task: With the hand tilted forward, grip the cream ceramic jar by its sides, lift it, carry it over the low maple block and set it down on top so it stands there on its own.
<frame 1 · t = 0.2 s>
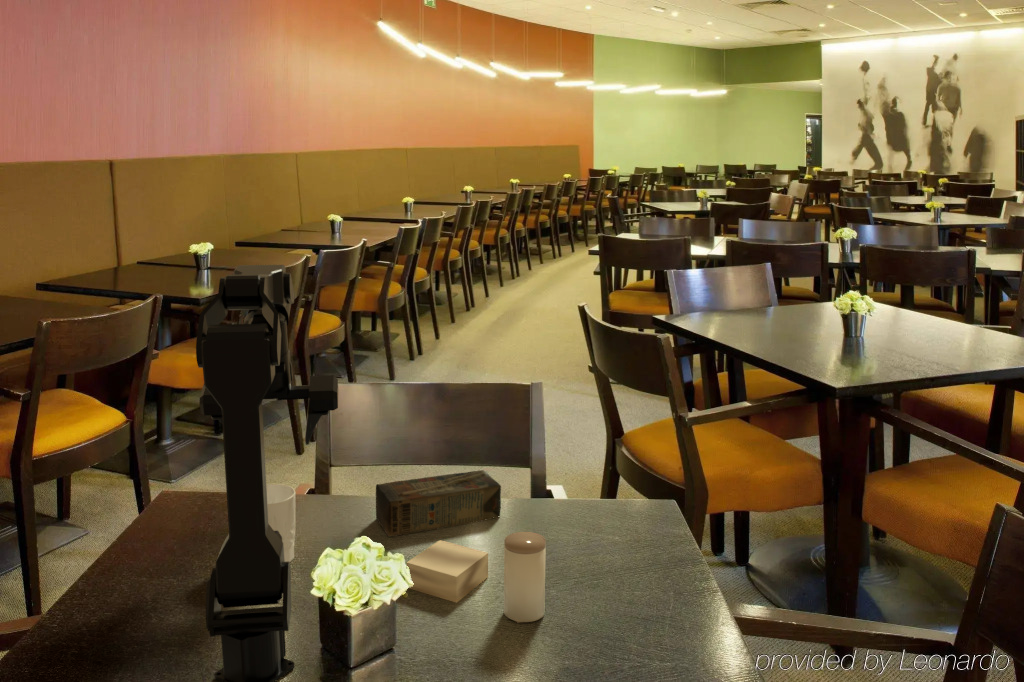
hand: (275, 444, 132), 15 cm above the table, tool pointing down, fingers open, 9 cm apart
jar: (524, 613, 115), on the table
maple block: (448, 584, 123), on the table
white cup: (270, 560, 130), on the table
beverage carton: (438, 521, 144), on the table
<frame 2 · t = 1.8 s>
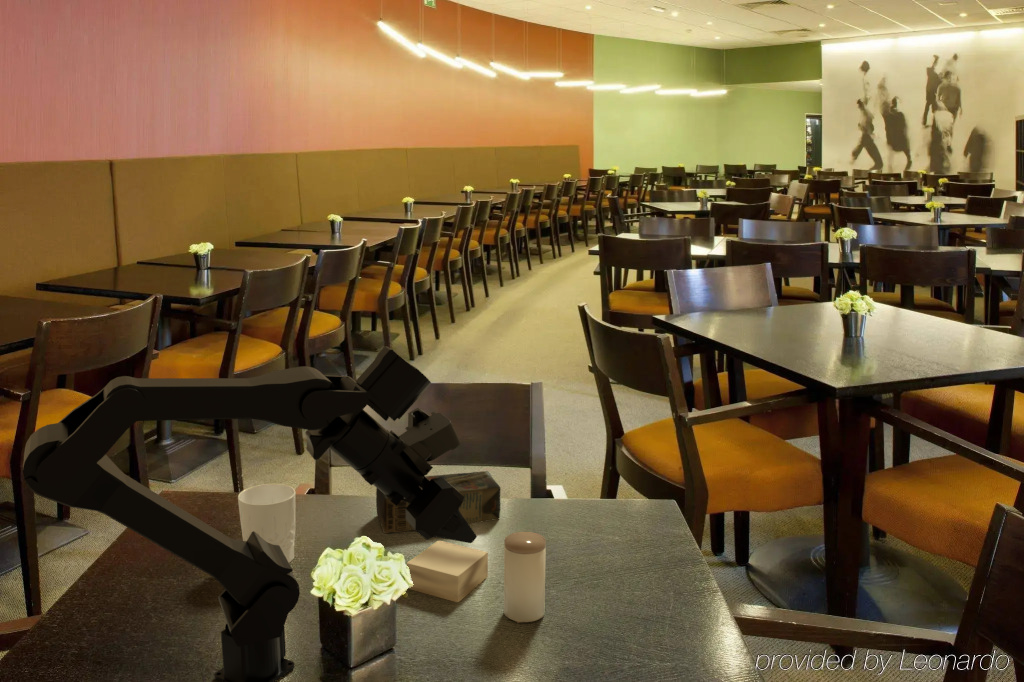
hand: (459, 524, 110), 13 cm above the table, tool tilted 45°, fingers open, 9 cm apart
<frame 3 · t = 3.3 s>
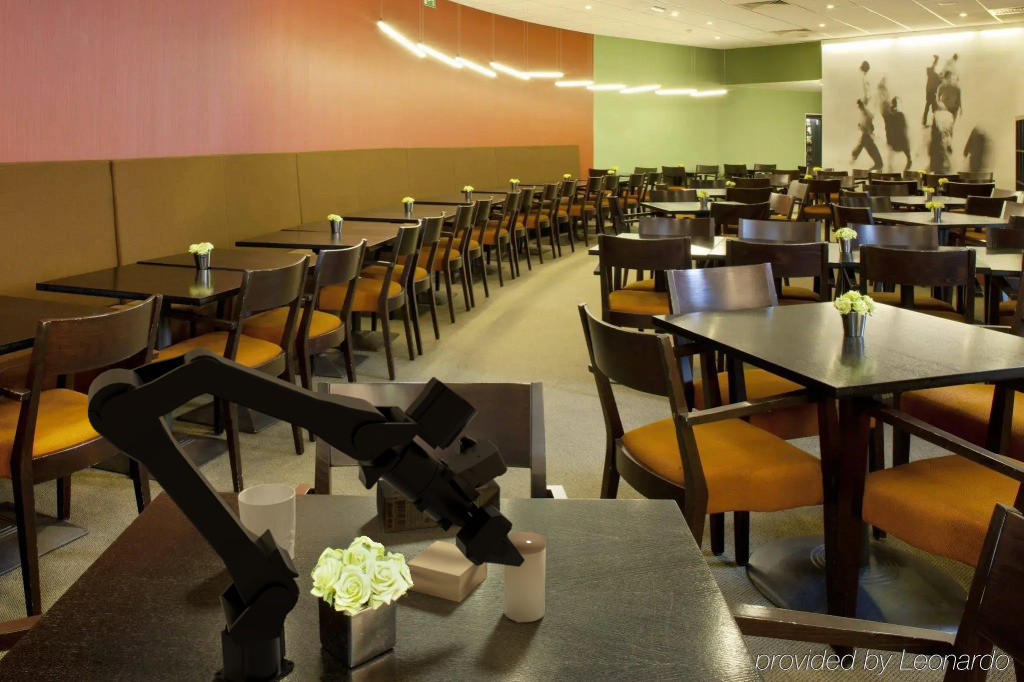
hand: (506, 547, 112), 10 cm above the table, tool tilted 45°, fingers open, 9 cm apart
nothing on the table moved.
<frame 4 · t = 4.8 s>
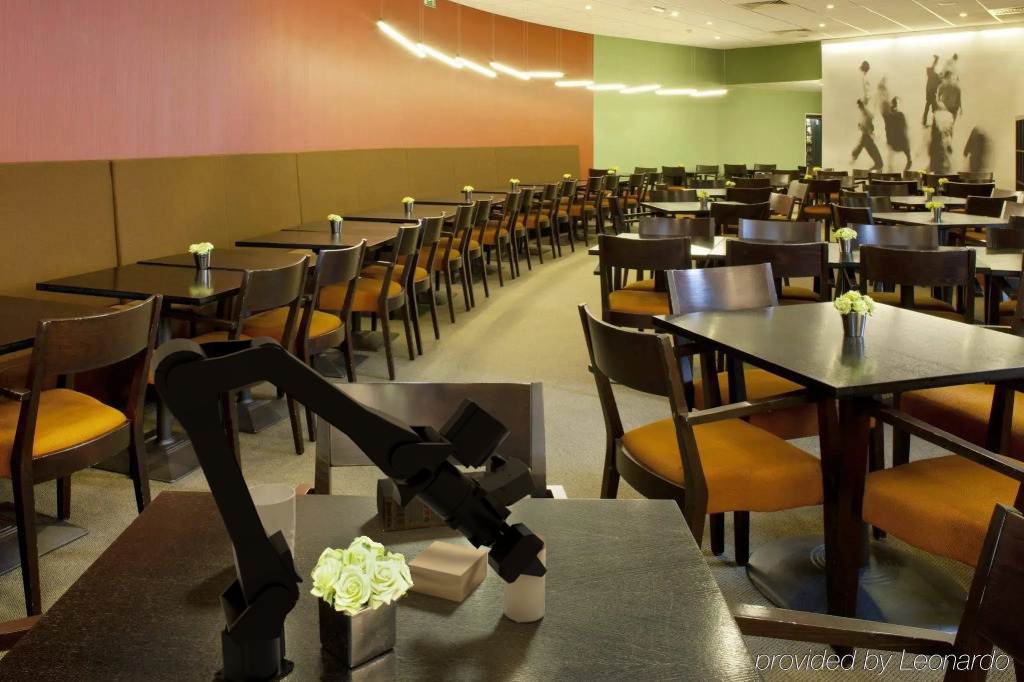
hand: (534, 564, 114), 7 cm above the table, tool tilted 45°, fingers closed on jar, 5 cm apart
jar: (524, 613, 115), on the table, touching gripper
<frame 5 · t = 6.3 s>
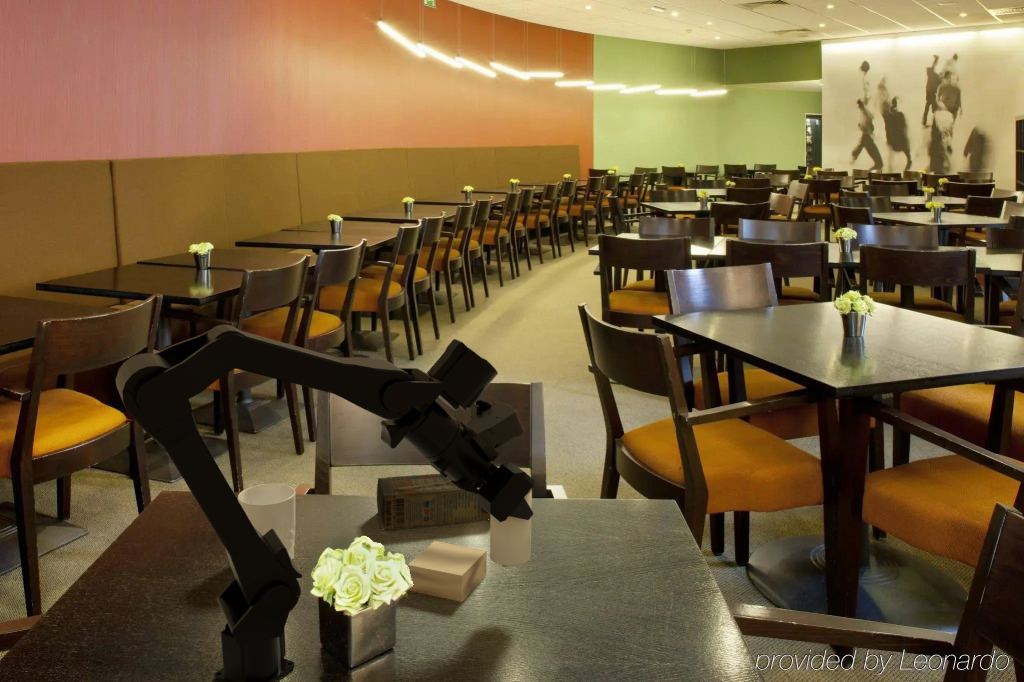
hand: (520, 508, 115), 13 cm above the table, tool tilted 45°, fingers closed on jar, 5 cm apart
jar: (509, 558, 116), point 7 cm above the table, touching gripper
when the fingers open (11 cm above the table, at t = 7.8 s): jar stays where it is, resting on maple block.
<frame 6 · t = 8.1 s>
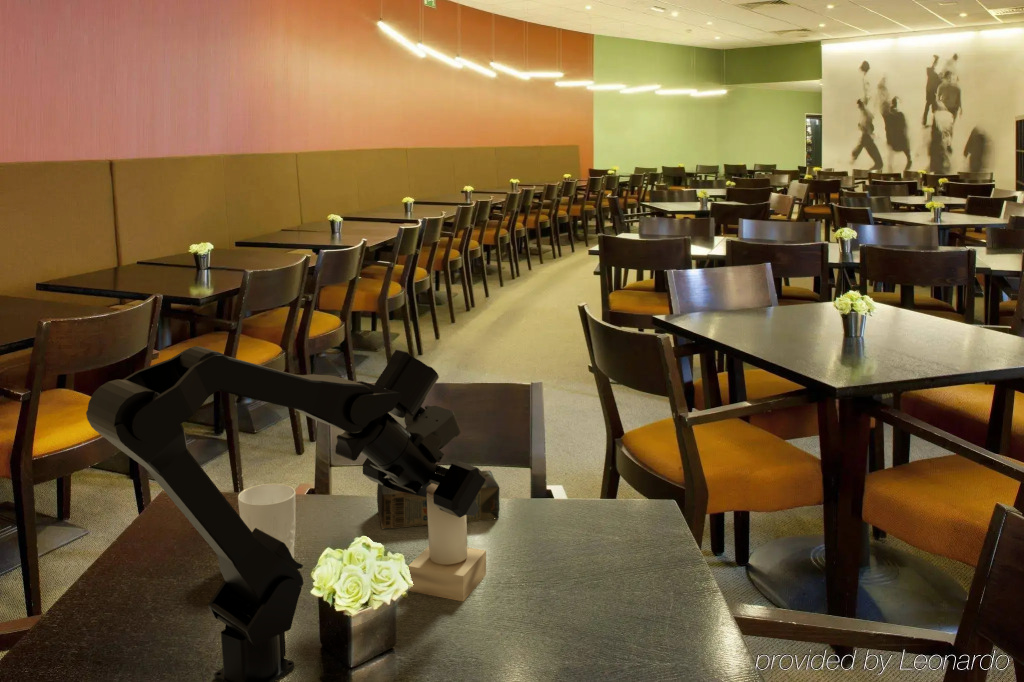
hand: (455, 503, 122), 11 cm above the table, tool tilted 45°, fingers open, 8 cm apart
jar: (448, 557, 122), point 4 cm above the table, touching maple block
maple block: (448, 585, 123), on the table, touching jar
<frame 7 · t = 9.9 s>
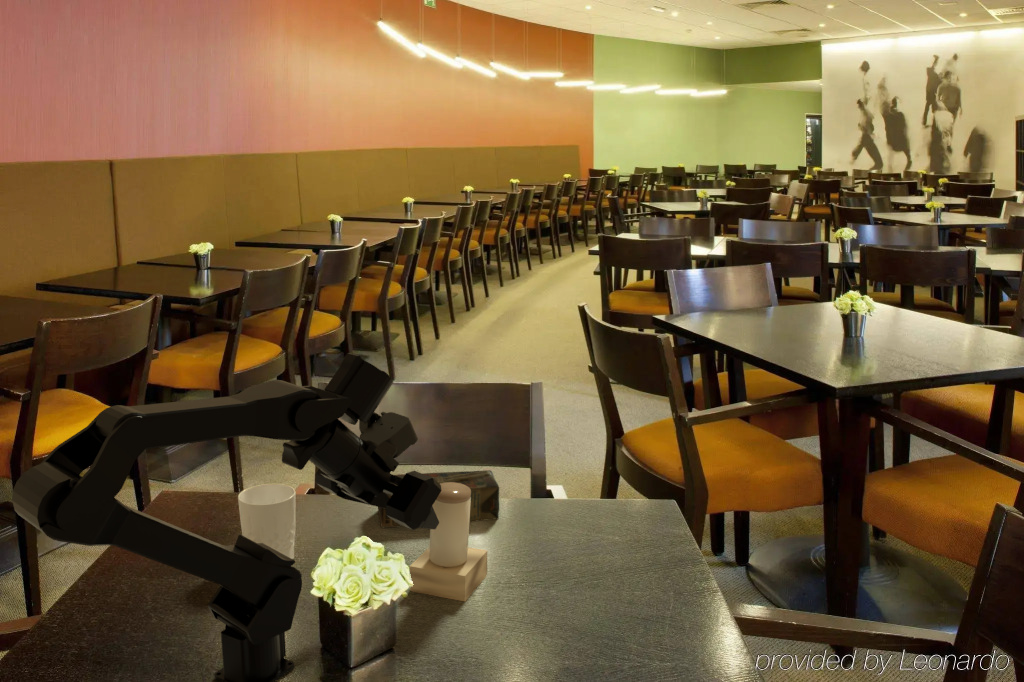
hand: (412, 515, 116), 12 cm above the table, tool tilted 45°, fingers open, 9 cm apart
jar: (448, 558, 122), point 4 cm above the table
maple block: (449, 585, 123), on the table
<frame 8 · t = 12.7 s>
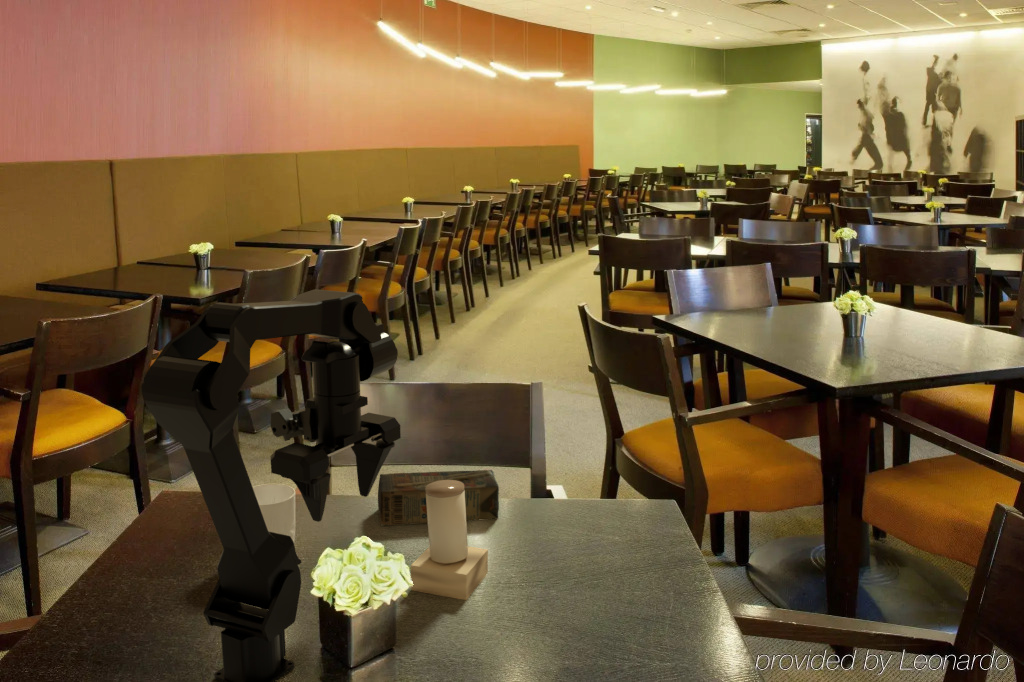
hand: (341, 507, 115), 13 cm above the table, tool pointing down, fingers open, 9 cm apart
jar: (449, 557, 122), point 4 cm above the table, touching maple block
maple block: (450, 584, 124), on the table, touching jar
at the end: jar inside the target area on the maple block (0.3 cm from its centre), point 4.2 cm above the maple block's base; jar tilted 5°; the gripper is holding nothing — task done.
